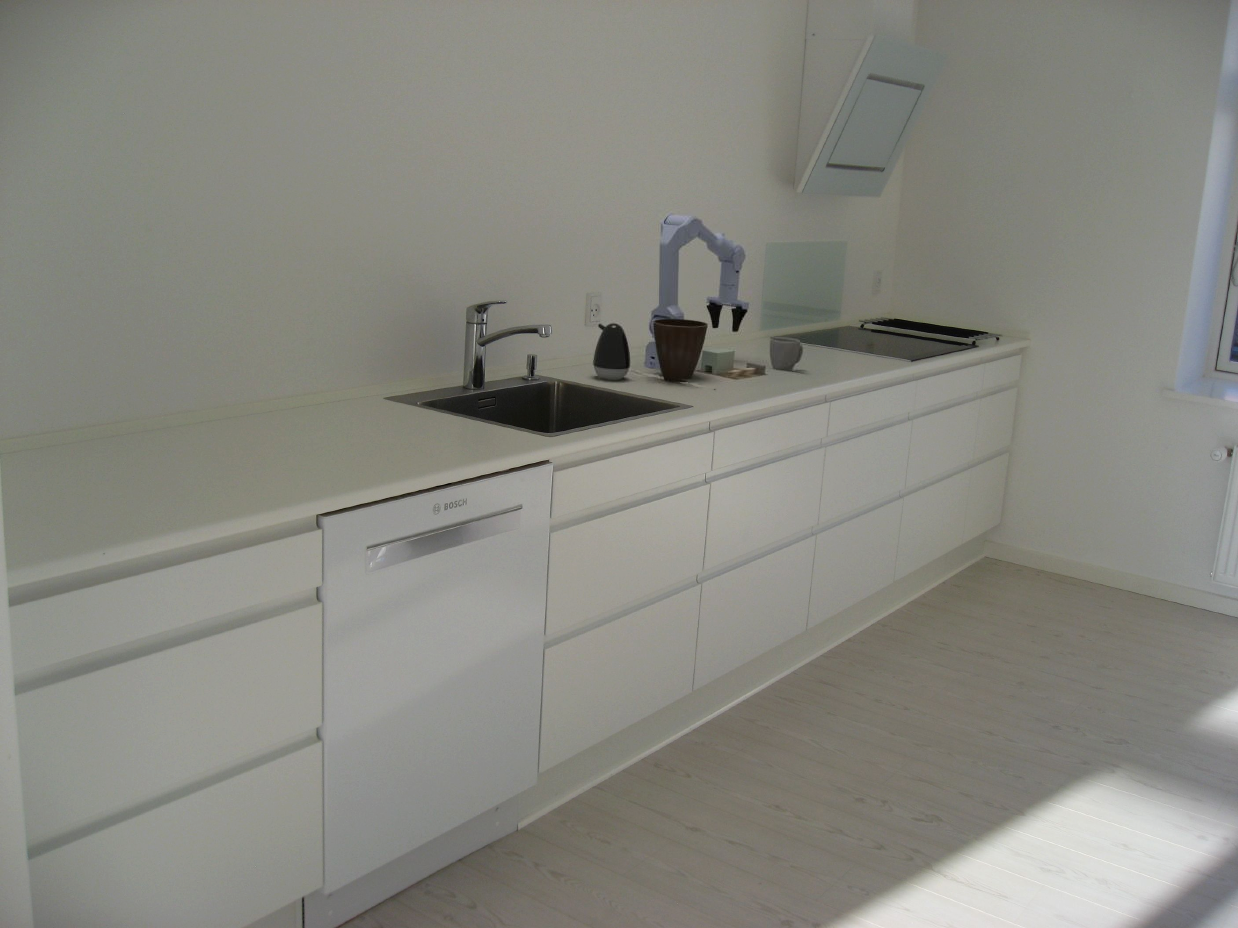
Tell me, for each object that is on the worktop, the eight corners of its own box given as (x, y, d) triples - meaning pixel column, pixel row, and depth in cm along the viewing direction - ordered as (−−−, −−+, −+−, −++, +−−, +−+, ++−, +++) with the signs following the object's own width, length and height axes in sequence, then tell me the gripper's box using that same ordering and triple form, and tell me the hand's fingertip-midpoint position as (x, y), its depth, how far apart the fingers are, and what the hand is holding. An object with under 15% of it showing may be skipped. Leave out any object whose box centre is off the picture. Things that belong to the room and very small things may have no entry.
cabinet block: (715, 374, 318) (717, 353, 316) (700, 371, 321) (702, 350, 320) (732, 371, 323) (734, 351, 322) (717, 368, 327) (719, 348, 325)
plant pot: (658, 385, 302) (662, 326, 298) (642, 374, 316) (646, 317, 312) (710, 385, 306) (715, 327, 302) (692, 375, 320) (697, 319, 316)
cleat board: (735, 383, 312) (736, 370, 311) (693, 374, 321) (694, 362, 320) (767, 378, 322) (768, 366, 321) (725, 369, 332) (726, 357, 331)
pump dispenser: (607, 373, 314) (611, 319, 310) (636, 379, 308) (640, 324, 304) (583, 377, 306) (586, 322, 303) (613, 383, 300) (616, 327, 296)
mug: (782, 375, 328) (786, 342, 326) (761, 370, 335) (764, 338, 332) (810, 372, 336) (814, 340, 333) (789, 367, 342) (792, 336, 340)
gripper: (756, 287, 336) (752, 332, 340) (717, 281, 345) (714, 325, 349) (742, 288, 331) (738, 333, 334) (703, 282, 340) (700, 327, 344)
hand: (725, 329), depth 341 cm, fingers open, 7 cm apart
